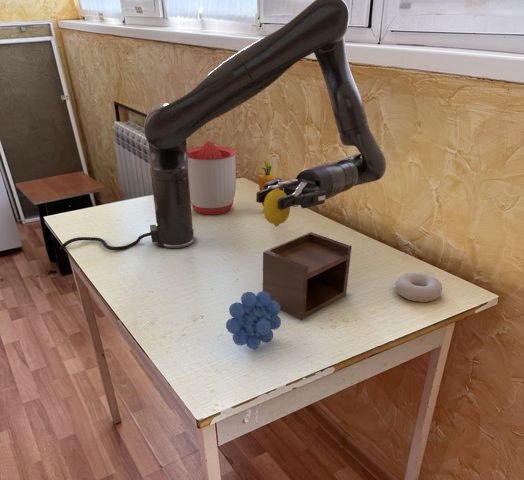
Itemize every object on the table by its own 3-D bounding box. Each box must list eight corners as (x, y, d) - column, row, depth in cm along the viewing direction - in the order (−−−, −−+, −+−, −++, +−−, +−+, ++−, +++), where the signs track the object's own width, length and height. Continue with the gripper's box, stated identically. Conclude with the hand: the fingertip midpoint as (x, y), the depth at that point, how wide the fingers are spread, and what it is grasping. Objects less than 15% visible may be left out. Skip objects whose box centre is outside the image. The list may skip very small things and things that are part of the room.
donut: (439, 308, 105) (441, 286, 112) (442, 294, 103) (444, 273, 110) (391, 300, 107) (396, 280, 115) (393, 286, 105) (399, 266, 113)
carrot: (275, 214, 150) (276, 163, 142) (258, 214, 150) (259, 163, 142) (275, 209, 154) (276, 159, 146) (259, 209, 154) (259, 159, 146)
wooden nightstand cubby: (301, 320, 100) (304, 268, 94) (262, 301, 106) (262, 251, 100) (346, 295, 109) (351, 246, 102) (307, 279, 115) (310, 231, 109)
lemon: (289, 231, 103) (290, 192, 98) (263, 231, 103) (263, 192, 98) (289, 221, 107) (290, 184, 103) (263, 221, 108) (263, 184, 103)
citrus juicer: (182, 201, 160) (176, 135, 148) (235, 200, 161) (234, 134, 150) (180, 218, 147) (174, 148, 136) (239, 216, 149) (237, 146, 137)
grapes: (241, 369, 87) (239, 310, 80) (221, 351, 91) (217, 293, 84) (293, 348, 92) (296, 290, 85) (272, 332, 97) (273, 276, 90)
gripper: (297, 159, 112) (243, 175, 102) (348, 172, 104) (295, 190, 94) (295, 192, 116) (244, 210, 107) (345, 207, 108) (294, 228, 98)
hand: (268, 201), depth 100 cm, fingers closed on lemon, 5 cm apart
